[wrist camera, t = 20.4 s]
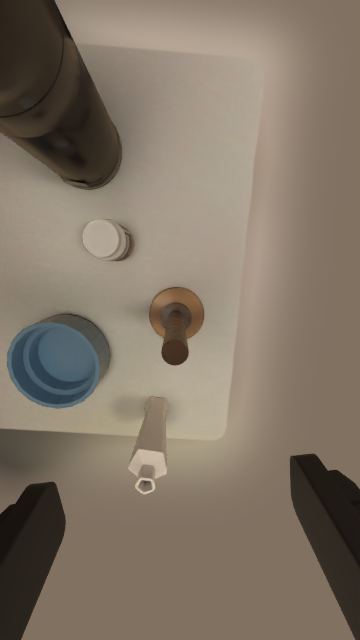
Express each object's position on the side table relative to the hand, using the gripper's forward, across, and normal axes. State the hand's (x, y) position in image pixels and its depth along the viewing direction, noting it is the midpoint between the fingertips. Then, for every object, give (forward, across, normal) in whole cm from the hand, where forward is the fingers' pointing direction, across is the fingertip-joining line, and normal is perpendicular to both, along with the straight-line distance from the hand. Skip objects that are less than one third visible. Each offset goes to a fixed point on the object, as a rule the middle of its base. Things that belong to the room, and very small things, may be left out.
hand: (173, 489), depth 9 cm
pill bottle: (+30, +7, -11) cm, 33 cm away
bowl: (+30, +17, +4) cm, 35 cm away
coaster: (+30, 0, 0) cm, 30 cm away
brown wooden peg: (+29, 0, 0) cm, 29 cm away
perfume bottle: (+30, +5, +15) cm, 34 cm away
